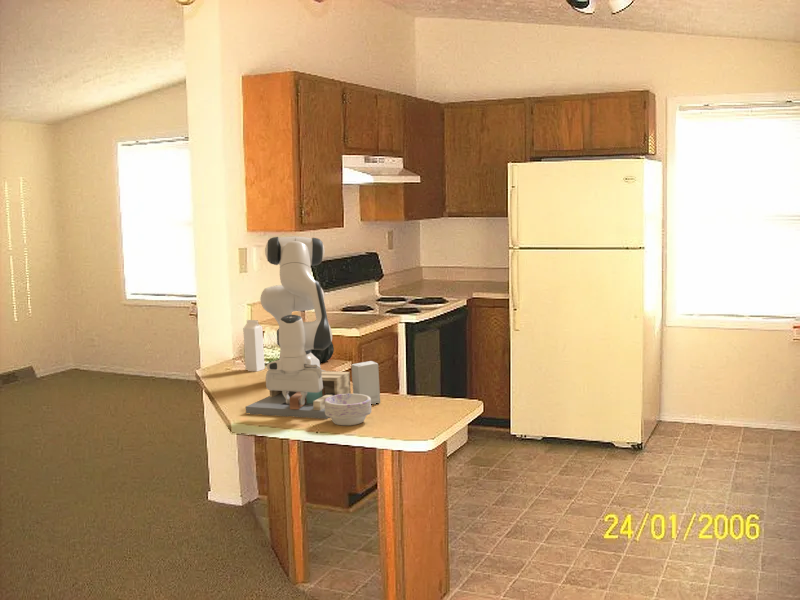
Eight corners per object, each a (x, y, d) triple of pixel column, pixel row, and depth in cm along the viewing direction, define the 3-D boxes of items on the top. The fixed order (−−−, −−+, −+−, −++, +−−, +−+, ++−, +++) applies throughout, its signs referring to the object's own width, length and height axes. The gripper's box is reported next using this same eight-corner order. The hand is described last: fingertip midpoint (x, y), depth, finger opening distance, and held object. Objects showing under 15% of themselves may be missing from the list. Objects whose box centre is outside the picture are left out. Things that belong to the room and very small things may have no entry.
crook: (303, 399, 306) (303, 387, 305) (325, 398, 304) (324, 387, 304) (290, 409, 290) (289, 397, 290) (312, 409, 289) (312, 397, 288)
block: (310, 400, 303) (309, 387, 303) (322, 400, 302) (322, 387, 302) (306, 403, 299) (306, 390, 298) (319, 403, 298) (318, 390, 297)
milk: (256, 371, 372) (253, 321, 370) (245, 370, 375) (242, 320, 372) (265, 368, 378) (262, 319, 375) (253, 368, 380) (250, 318, 378)
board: (282, 396, 322) (282, 390, 321) (358, 400, 310) (358, 394, 310) (246, 413, 298) (245, 406, 297) (326, 418, 286) (326, 411, 286)
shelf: (284, 390, 321) (283, 369, 320) (350, 393, 311) (349, 371, 310) (269, 397, 311) (268, 375, 310) (337, 400, 301) (336, 378, 300)
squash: (307, 345, 401) (301, 325, 390) (338, 346, 398) (333, 326, 387) (301, 370, 392) (294, 350, 380) (333, 371, 389) (327, 351, 378)
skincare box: (373, 400, 309) (372, 360, 308) (381, 404, 304) (379, 362, 302) (352, 404, 306) (350, 363, 304) (359, 407, 300) (357, 365, 299)
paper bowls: (358, 430, 271) (357, 405, 270) (316, 426, 278) (315, 402, 277) (380, 418, 285) (379, 394, 284) (339, 414, 291) (338, 391, 290)
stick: (326, 403, 298) (326, 394, 298) (333, 403, 297) (332, 394, 297) (313, 409, 289) (313, 401, 289) (320, 410, 288) (319, 401, 288)
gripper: (325, 363, 289) (327, 403, 290) (271, 361, 296) (273, 400, 298) (316, 366, 283) (318, 407, 284) (262, 364, 290) (264, 404, 292)
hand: (295, 403), depth 291 cm, fingers closed on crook, 3 cm apart
